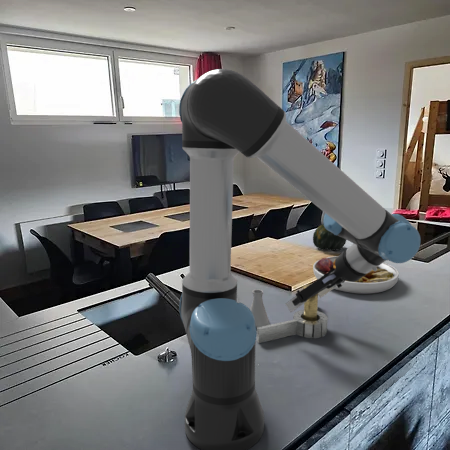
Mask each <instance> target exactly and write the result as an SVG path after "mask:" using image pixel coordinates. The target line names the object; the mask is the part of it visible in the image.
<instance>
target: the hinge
mask: <svg viewBox="0 0 450 450" xmlns="http://www.w3.org/2000/svg"><path fill="white" fill-rule="evenodd" d="M328 318H329V317H328V316H327V315H326V314H325V313H324V312H322V311H319V310H317V321H306V320H304V309H301V310H298V311H295V312H294V313H293V319H290V320H286V321H285V320H284V321H282V322H277V323H271V324H270V325H267V326H262V327H258V328H256V332H257V335H256V343H258V344H261V343H265V342H269V341H274V340H278V339H282V338H283V339H284V338H286V337H291V336H294V335H295V336H296V335H297V336H298V337H299V336H300V337H303V338H305V339H319V338H324V337H325V336H327V333H328V322H329V321H328V320H329V319H328Z"/></svg>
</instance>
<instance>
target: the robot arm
mask: <svg viewBox="0 0 450 450" xmlns="http://www.w3.org/2000/svg"><path fill="white" fill-rule="evenodd" d="M178 113H179V114H178V115H179V119H180V121H181V127H182V128H181V129H182V130H181V131H182V132H181V133H182V134H181V136H182V137H181V138H182V140H181V141H182V142H181V143H182V150H183V151H184V152H185V153H186V154H187V155H188V157H189V271H188V273H187V274H186V275H185V276H184V277H183V279H181V280H182V281H181V284H182V285H181V287H182V289H181V292H182V293H181V296H180V299H179V304H178V305H179V307H178V308H179V316H180V320H181V322H182V324H183V327H184V329H185V330H184V331H185V334H186V338H187V341H188V345H189V349H190V354H191V355H190V356H191V371H192V372H191V374H192V375H191V377H192V378H191V379H192V390H191V394H190V397H189V399H188V403H187V406H186V409H185V412H184V431H185V434H186V437H187V439H188V440H189V441H190V442H191V444H193V445H194V446H195V447H196V448H197V449H199V450H249V449H250V448H253V446H255V445H256V444H257V443H258V441H260V439H261V438H262V436H263V434H264V430H265V412H264V408H263V406H262V403H261V400H260V398H259V395H258V392H257V390H256V343H257V328H256V325H255V319H254V316H253V313H252V312H251V310H250V308H249V307H248V306H247V305H245V304H244V303H242V302H238V280H237V278H236V277H235V276H234V275H233V274H232V273H231V271H232V270H231V267H232V264H231V263H232V231H233V230H232V229H233V226H232V225H233V196H234V195H233V194H234V160H235V158H236V156H237V155H238V154H239V153H241V154H243V156H244V157H246V158H247V159H253V158H257V159H258V160H259V161H260V162H261V163H263V164H264V165H265V166H266V167H268V168H269V169H271V171H273V172H274V174H276V175H278V177H280V178H281V179H283V180H284V181H285V183H287V184H289V186H292V187H293V188H294V189H295V190H296V191H297V192H299V193H300V194H301V195H302V196H303V197H305V198H306V199H307V200H309V201H310V203H312V204H313V205H315V206H316V207H317V208H318V209H320V210H321V211H322V212H323V213H324V216H323V223H322V224H324V227H325V228H326V229H327V230H328V231H330V232H332V233H334V235H338V236H340V237H342V238H344V239H346V241H348V242H351V243H352V244H351V245H350V246H349V247H347V249H346V250H344V251H343V252H342V253H340V254H339V255H337V256H338V257H337V258H336V260H335V266H336V268H335V269H334V268H333V269H331V270H330V271H329V272H328V273H326V274H324V275H323V276H322V277H321V278H320V279H316V280H315V281H314V282H312V283H310V285H309V286H307V287H306V288H304V289H303V288H302V290H299V289H298V290H297V291H296V292H297V293H295V295H294V296H293V297H292V298H291V299H290V300H289V301H287V302H286V303H285V306H286V307H287V309H288V310H289V312H290V313H293V312H294V311H295V310H297V309H298V308H300V307H301V306H302V305H304V303H305V302H307V300H308V299H310V298H311V297H313V296H314V295H316V294H318V298H320V299H321V298H323V297H325V295H327V294H329V293H330V292H331V291H333V290H335V289H334V288H335V287H336V285H337V287H338V288H340V287H341V286H342V285H341V282H342V283H344V282H345V281H346V280H347V281H350V282H356V281H358V280H359V279H360V278H362V277H363V276H365V275H366V274H367V273H369V272H370V271H372V270H374V271H377V266H379V265H380V264H382V263H383V262H385V263H386V261H389V262H392V263H394V264H404V263H406V262H409V261H411V260H412V259H413V258H414V257H416V254H417V253H418V252H419V250H420V246H421V242H422V241H421V235H420V233H419V231H418V229H417V228H416V227H414V226H413V225H412V224H411V223H410V221H409V219H407V218H405V217H404V216H403V215H402V214H398V213H391V212H389V211H388V210H387V209H386V208H384V207H383V206H382V205H381V204H380V203H379V202H378V201H377V200H375V199H374V198H373V197H372V196H371V195H370V194H369V193H368V192H366V191H365V190H364V189H363V188H362V187H361V186H360V185H358V184H357V183H356V182H355V181H354V180H353V179H352V178H351V177H350V176H348V175H347V174H346V173H345V172H344V171H342V170H341V169H340V168H339V167H338V166H337V165H336V163H334V162H332V160H330V159H329V158H328V157H327V156H326V155H325V154H324V153H323V152H321V151H320V150H319V149H318V148H317V147H316V146H314V144H312V143H311V142H310V141H309V140H308V139H306V138H305V137H304V136H303V135H302V134H301V133H300V132H298V131H297V130H296V129H295V128H294V127H293V126H292V125H291V124H290V123H288V122H287V113H286V111H285V110H284V109H283V108H282V107H280V106H279V105H278V104H277V103H276V102H275V101H274V100H273V99H272V98H271V97H270V96H268V95H267V94H266V93H265V92H264V91H263V90H262V89H261V88H260V87H258V86H257V85H256V84H254V82H253V81H251V80H250V79H249V78H248V77H246V76H244V75H243V74H241V73H240V72H238V71H235V70H232V69H227V68H218V69H217V68H216V69H213V70H210V71H207V72H205V73H204V74H202V75H201V76H200V77H198V78H197V79H195V80H194V81H193V82H191V83H190V84H189V85H188V86H187V87H186V88H185V89H184V91H183V93H182V95H181V98H180V100H179V106H178Z"/></svg>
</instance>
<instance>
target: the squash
mask: <svg viewBox="0 0 450 450" xmlns="http://www.w3.org/2000/svg"><path fill="white" fill-rule="evenodd" d="M346 242H347V240H346V239H344V238H342V237H340V236H338V235H334V233H332V232H330V231H328V230H327V229H326V228H325V227H324V223H322V224H320V225H319V226H317V228H315V230H314V231H313V235H312V243H313V245H314V247H316V248H317V249H319V248H320V250H327V251H328V250H331V251H332V250H333V251H340V250H342V249H343V247H344V246H345V245H346Z"/></svg>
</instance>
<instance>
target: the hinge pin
mask: <svg viewBox="0 0 450 450" xmlns="http://www.w3.org/2000/svg"><path fill="white" fill-rule="evenodd" d="M310 284H311V283H310ZM310 284H308V283H307V284H305V285H302V290H303V289H304V288H306V287H307V286H309V285H310ZM318 299H319V295H318V294H316V295H314V296H313V297H311V298H310V299H308V300H307V302H305V303H304V304H303V310H304V320H306V321H317V311H318V302H319V300H318Z"/></svg>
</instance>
